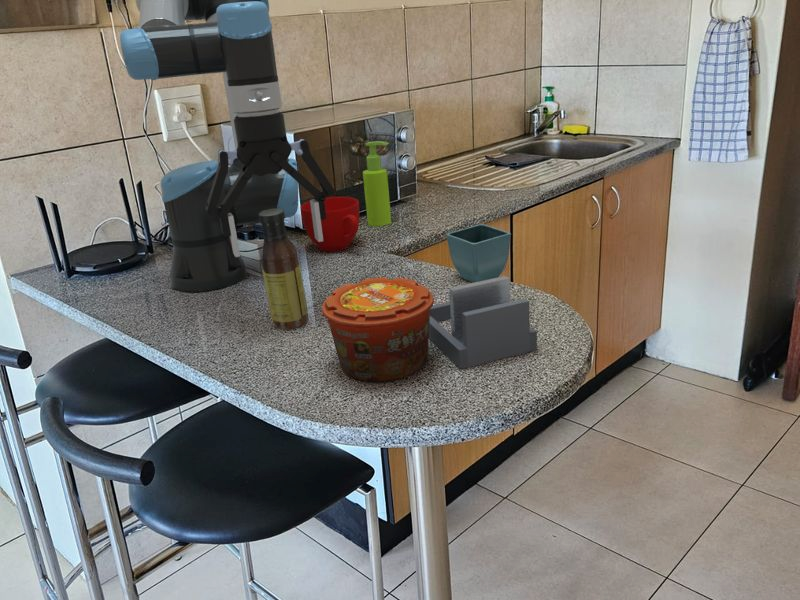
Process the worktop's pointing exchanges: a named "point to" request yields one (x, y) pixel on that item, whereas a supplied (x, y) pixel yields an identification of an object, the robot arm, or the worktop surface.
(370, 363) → the food container
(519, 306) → the frame
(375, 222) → the soap dispenser
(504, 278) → the bar
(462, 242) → the flower pot
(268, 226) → the sauce bottle
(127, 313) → the worktop surface
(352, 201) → the ceramic cup
